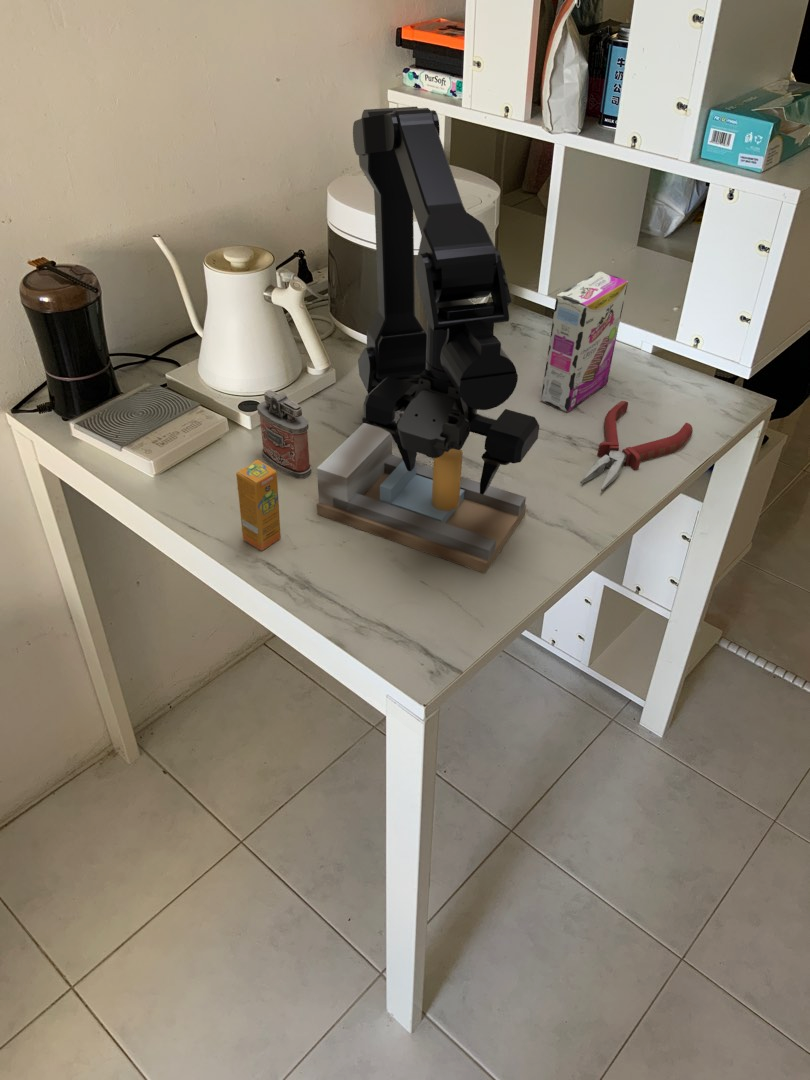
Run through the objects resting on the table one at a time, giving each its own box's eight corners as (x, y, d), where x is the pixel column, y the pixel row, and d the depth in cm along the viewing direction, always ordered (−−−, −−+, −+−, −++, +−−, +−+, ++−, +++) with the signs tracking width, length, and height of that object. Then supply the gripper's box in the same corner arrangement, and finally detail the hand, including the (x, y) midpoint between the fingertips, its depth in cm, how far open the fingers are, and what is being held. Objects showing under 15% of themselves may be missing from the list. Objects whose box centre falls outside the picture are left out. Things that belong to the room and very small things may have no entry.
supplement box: (263, 553, 100) (254, 482, 93) (242, 540, 101) (232, 470, 95) (284, 538, 102) (277, 469, 95) (263, 526, 103) (255, 457, 97)
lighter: (256, 456, 114) (248, 389, 108) (276, 446, 116) (269, 379, 110) (297, 482, 110) (292, 414, 104) (317, 471, 112) (313, 403, 106)
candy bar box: (568, 414, 123) (586, 306, 113) (539, 402, 126) (553, 294, 115) (610, 384, 130) (630, 279, 119) (581, 373, 132) (598, 268, 122)
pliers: (549, 477, 113) (551, 461, 111) (617, 410, 125) (620, 395, 123) (631, 511, 108) (635, 494, 106) (693, 438, 120) (698, 422, 118)
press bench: (317, 514, 105) (314, 470, 101) (366, 463, 113) (365, 420, 109) (485, 573, 98) (489, 528, 94) (524, 514, 106) (530, 470, 102)
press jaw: (379, 508, 104) (379, 449, 98) (404, 480, 108) (406, 422, 103) (445, 530, 101) (448, 471, 95) (468, 500, 105) (473, 442, 100)
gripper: (335, 371, 88) (340, 494, 98) (507, 420, 82) (493, 546, 92) (388, 326, 96) (387, 445, 106) (548, 368, 89) (532, 490, 99)
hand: (446, 480), depth 101 cm, fingers open, 9 cm apart
